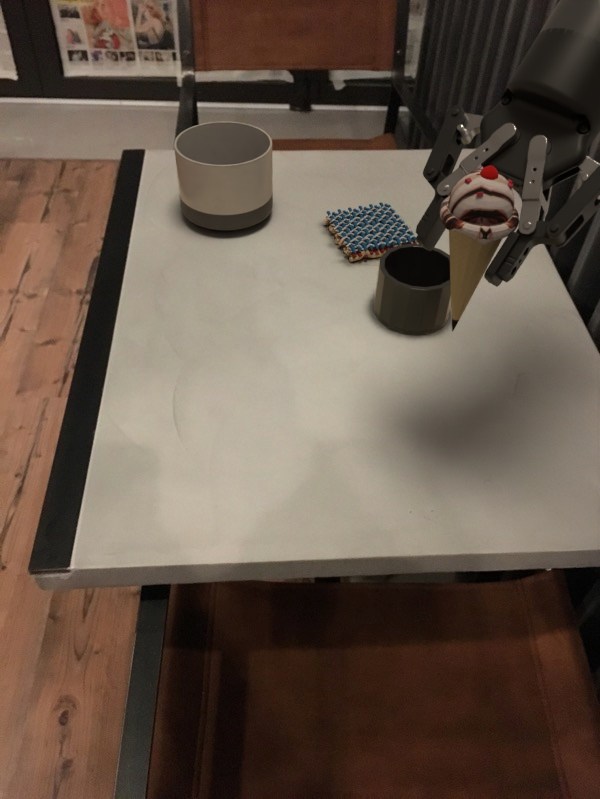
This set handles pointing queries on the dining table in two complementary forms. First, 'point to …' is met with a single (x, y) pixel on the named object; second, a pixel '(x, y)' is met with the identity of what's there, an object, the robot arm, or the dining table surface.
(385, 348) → the dining table surface
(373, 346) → the dining table surface
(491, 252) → the ice cream cone
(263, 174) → the planter
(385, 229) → the woven mat
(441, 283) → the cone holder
